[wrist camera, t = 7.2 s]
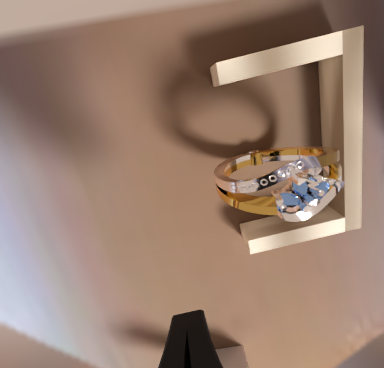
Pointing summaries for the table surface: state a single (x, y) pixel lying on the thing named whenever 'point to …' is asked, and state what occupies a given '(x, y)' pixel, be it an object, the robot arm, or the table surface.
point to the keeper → (330, 127)
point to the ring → (295, 188)
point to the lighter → (232, 357)
